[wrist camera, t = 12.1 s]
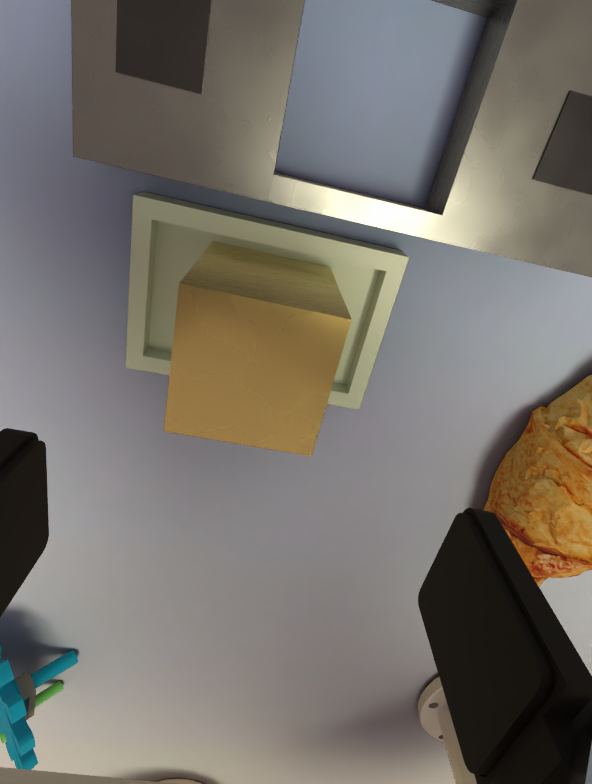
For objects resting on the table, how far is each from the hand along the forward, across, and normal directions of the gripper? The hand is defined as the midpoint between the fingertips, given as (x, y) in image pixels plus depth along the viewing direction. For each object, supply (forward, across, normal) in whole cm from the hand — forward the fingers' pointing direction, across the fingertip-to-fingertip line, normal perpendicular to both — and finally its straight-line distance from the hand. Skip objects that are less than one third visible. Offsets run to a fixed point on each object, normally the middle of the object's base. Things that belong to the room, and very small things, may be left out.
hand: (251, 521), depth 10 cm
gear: (+15, +14, +30) cm, 36 cm away
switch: (+14, -2, -10) cm, 18 cm away
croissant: (+15, -20, +5) cm, 25 cm away
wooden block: (+14, +1, -1) cm, 14 cm away
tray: (+14, +1, -1) cm, 14 cm away
